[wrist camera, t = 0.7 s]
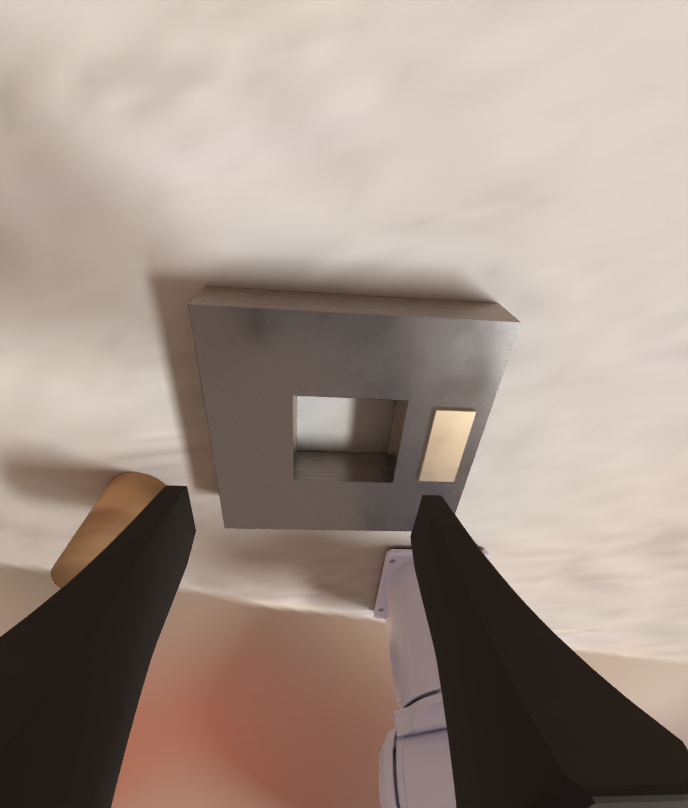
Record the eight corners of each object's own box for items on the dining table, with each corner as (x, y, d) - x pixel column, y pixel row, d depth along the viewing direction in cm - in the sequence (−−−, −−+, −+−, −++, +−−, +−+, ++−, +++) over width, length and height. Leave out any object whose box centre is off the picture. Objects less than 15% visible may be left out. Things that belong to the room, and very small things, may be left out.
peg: (177, 515, 26) (141, 601, 21) (117, 514, 26) (66, 601, 21) (166, 473, 24) (122, 558, 19) (100, 471, 23) (38, 557, 18)
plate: (438, 501, 26) (449, 534, 24) (233, 497, 25) (224, 531, 23) (498, 303, 18) (522, 324, 16) (205, 286, 17) (186, 305, 15)
